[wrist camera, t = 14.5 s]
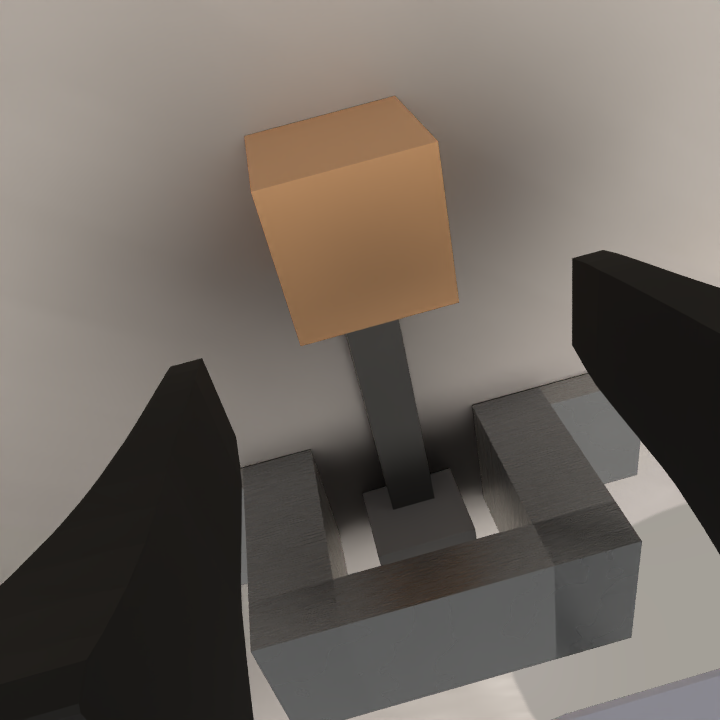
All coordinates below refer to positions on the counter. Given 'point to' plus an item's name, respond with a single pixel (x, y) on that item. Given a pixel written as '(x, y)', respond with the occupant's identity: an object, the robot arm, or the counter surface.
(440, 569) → the mounting bracket
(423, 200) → the plug
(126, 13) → the counter surface
